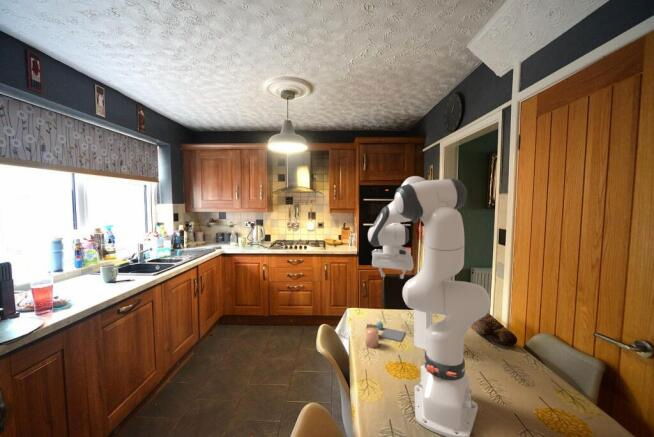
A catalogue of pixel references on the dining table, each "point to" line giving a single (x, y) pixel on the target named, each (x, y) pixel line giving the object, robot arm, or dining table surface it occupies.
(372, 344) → the pink rounded cylinder
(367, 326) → the walnut block
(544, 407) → the dining table surface
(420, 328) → the milk
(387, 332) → the coaster
